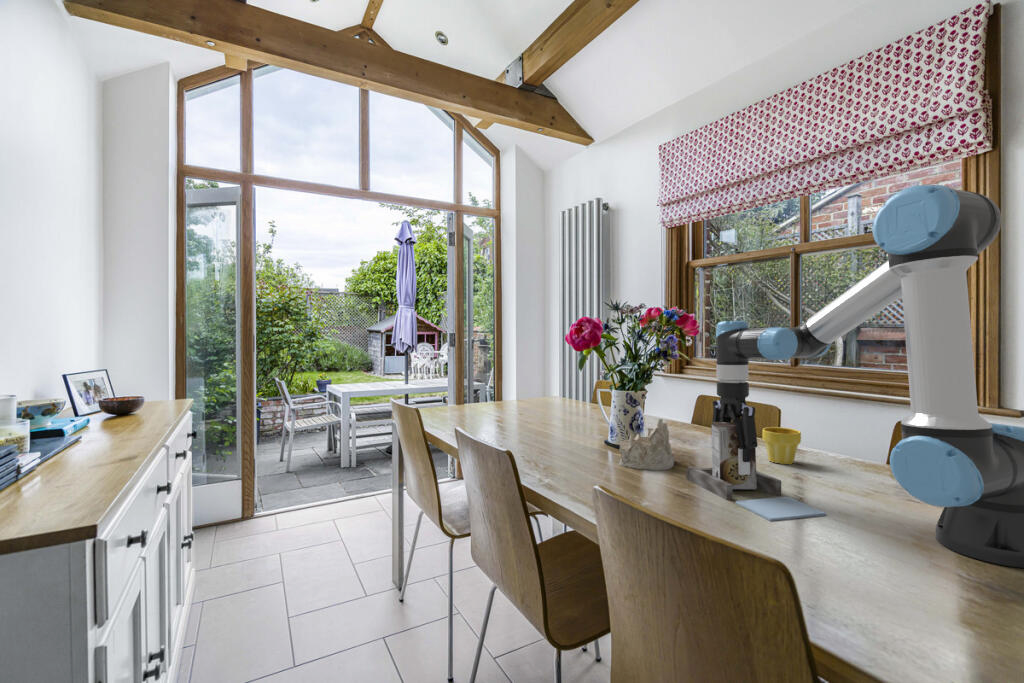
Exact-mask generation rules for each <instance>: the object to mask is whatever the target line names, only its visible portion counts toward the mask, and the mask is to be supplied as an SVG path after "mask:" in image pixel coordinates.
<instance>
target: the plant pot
mask: <svg viewBox="0 0 1024 683" xmlns="http://www.w3.org/2000/svg"><path fill="white" fill-rule="evenodd" d="M762 440H763V441H764V443H765V449H766V454H767V458H768V461H769V462H770V461H771V462H770V463H772V462H775V463H774V464H776V463H780V464H779V465H784V464H789V465H793V464H794V463H795V458H796V455H797V454H796V453H797V450H798V446H799V445H800V444H801V441H802V432H801V431H800V430H797V429H794V428H790V427H789V428H788V427H779V426H770V427H769V426H768V427H764V428H762ZM792 463H793V464H792Z"/></svg>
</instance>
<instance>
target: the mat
mask: <svg viewBox="0 0 1024 683" xmlns="http://www.w3.org/2000/svg"><path fill="white" fill-rule="evenodd" d="M735 504H736V505H739V506H740V507H742V508H744V509H746V510H747V511H749V512H752V513H753V514H755V515H756V516H757V515H758V516H759V517H762V519H763V518H764V519H765V520H767V521H768V522H773V521H782V520H783V521H784V520H793V519H801V518H802V519H803V518H813V517H823V516H827V513H826V512H825V511H823V510H820V509H818V508H816V507H813V506H811V505H809V504H806V503H803V502H801V501H799V500H796V499H794V498H792V497H789V496H778V497H765V498H756V499H755V498H754V499H746V500H736V501H735Z"/></svg>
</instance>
